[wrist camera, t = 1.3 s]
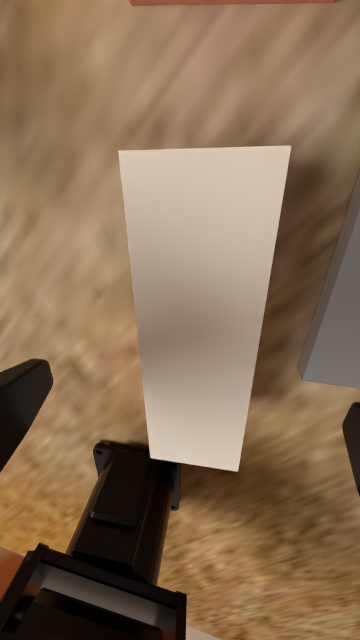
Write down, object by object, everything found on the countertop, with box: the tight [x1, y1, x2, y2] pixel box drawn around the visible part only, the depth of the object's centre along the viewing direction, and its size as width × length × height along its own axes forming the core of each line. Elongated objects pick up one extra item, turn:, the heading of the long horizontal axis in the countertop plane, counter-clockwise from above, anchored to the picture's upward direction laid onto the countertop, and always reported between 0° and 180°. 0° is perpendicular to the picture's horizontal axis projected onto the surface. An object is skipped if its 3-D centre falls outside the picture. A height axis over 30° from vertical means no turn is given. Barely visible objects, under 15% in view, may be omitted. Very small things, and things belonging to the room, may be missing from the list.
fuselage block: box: [118, 145, 292, 472], centre depth 11 cm, size 12×4×4 cm, turn 1°
